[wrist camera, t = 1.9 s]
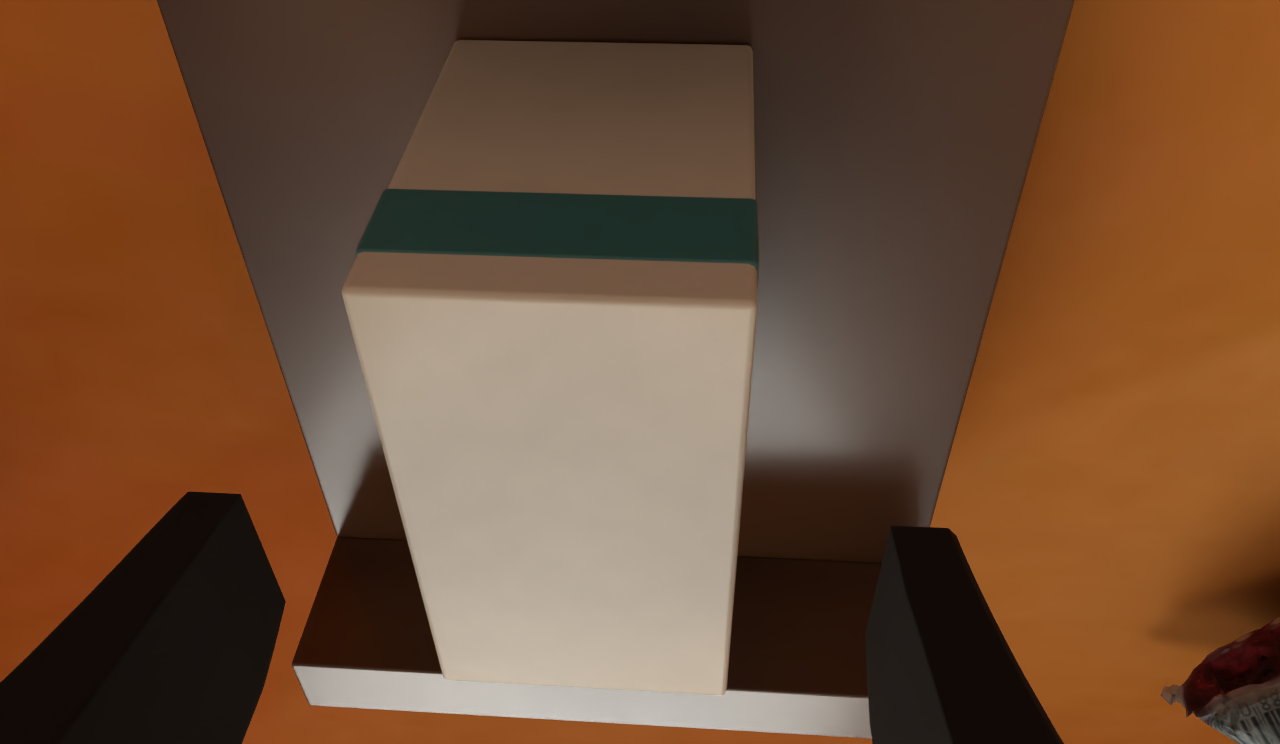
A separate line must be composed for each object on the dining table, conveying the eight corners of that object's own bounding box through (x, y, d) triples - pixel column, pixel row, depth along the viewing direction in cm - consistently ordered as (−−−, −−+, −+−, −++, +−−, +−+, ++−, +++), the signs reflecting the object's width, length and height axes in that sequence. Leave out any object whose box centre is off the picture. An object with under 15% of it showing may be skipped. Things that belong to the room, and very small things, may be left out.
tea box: (506, 409, 19) (441, 682, 15) (452, 35, 14) (334, 288, 10) (730, 418, 18) (727, 699, 14) (754, 41, 14) (760, 303, 10)
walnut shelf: (385, 477, 25) (308, 706, 20) (119, -508, 13) (-212, -466, 8) (892, 500, 24) (926, 742, 20) (1129, -523, 12) (1355, -486, 8)
